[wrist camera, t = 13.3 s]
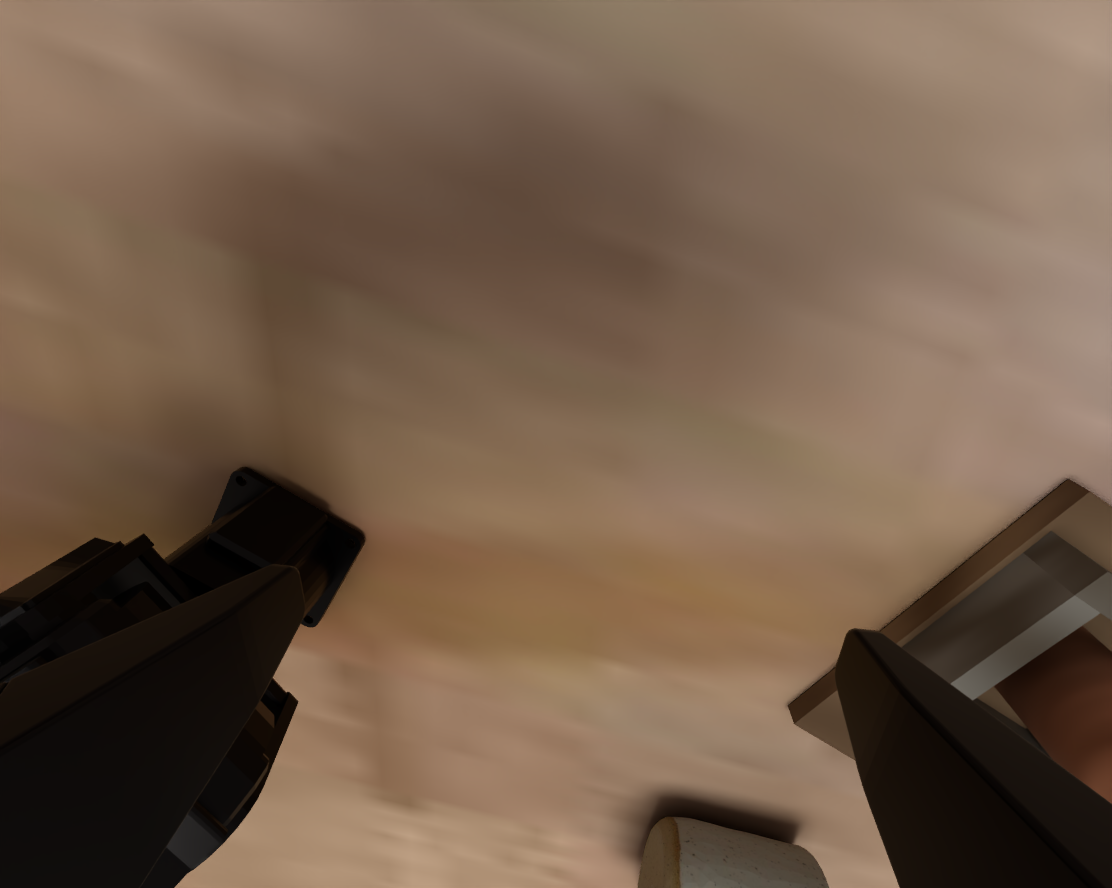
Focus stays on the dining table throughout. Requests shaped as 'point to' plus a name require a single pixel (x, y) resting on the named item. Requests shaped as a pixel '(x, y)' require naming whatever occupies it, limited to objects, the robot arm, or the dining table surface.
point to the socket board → (999, 610)
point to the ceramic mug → (722, 859)
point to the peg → (1069, 706)
